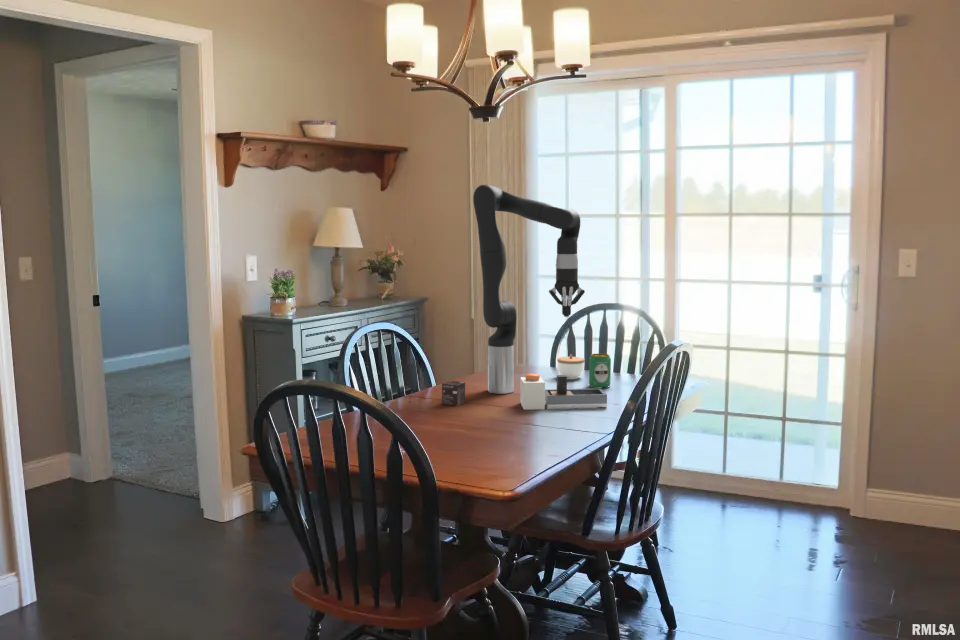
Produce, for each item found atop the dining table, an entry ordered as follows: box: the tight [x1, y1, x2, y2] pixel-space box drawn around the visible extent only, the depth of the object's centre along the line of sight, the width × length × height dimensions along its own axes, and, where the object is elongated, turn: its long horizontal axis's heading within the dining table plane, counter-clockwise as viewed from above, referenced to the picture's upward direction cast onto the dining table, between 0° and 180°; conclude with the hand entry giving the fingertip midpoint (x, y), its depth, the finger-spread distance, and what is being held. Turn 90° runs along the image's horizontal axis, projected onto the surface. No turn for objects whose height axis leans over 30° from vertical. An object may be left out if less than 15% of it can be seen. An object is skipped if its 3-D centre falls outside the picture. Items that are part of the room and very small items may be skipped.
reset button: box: [524, 373, 541, 381], centre depth 278 cm, size 5×5×5 cm
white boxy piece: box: [519, 376, 546, 410], centre depth 279 cm, size 7×10×9 cm
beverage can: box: [588, 353, 612, 388], centre depth 310 cm, size 8×8×12 cm
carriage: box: [550, 374, 573, 395], centre depth 279 cm, size 7×7×8 cm
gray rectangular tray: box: [545, 388, 608, 410], centre depth 280 cm, size 20×10×4 cm, turn 94°
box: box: [441, 380, 466, 407], centre depth 283 cm, size 6×6×7 cm
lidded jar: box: [556, 354, 586, 380], centre depth 327 cm, size 11×11×9 cm
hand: (566, 316), depth 289 cm, fingers closed
